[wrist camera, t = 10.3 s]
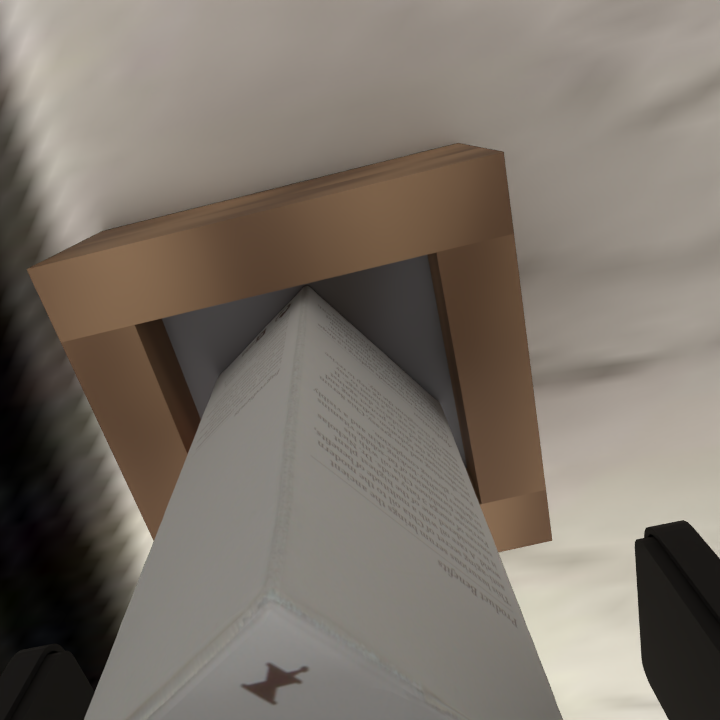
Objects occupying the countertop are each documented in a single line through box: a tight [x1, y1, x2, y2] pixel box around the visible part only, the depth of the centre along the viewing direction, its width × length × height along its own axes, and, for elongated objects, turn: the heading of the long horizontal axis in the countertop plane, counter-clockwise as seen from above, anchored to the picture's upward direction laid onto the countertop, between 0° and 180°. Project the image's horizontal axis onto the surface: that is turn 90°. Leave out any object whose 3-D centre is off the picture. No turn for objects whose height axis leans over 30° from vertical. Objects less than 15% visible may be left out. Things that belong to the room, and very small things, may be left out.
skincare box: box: [84, 286, 563, 720], centre depth 13 cm, size 6×4×12 cm
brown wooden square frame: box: [27, 143, 552, 552], centre depth 19 cm, size 12×12×5 cm
